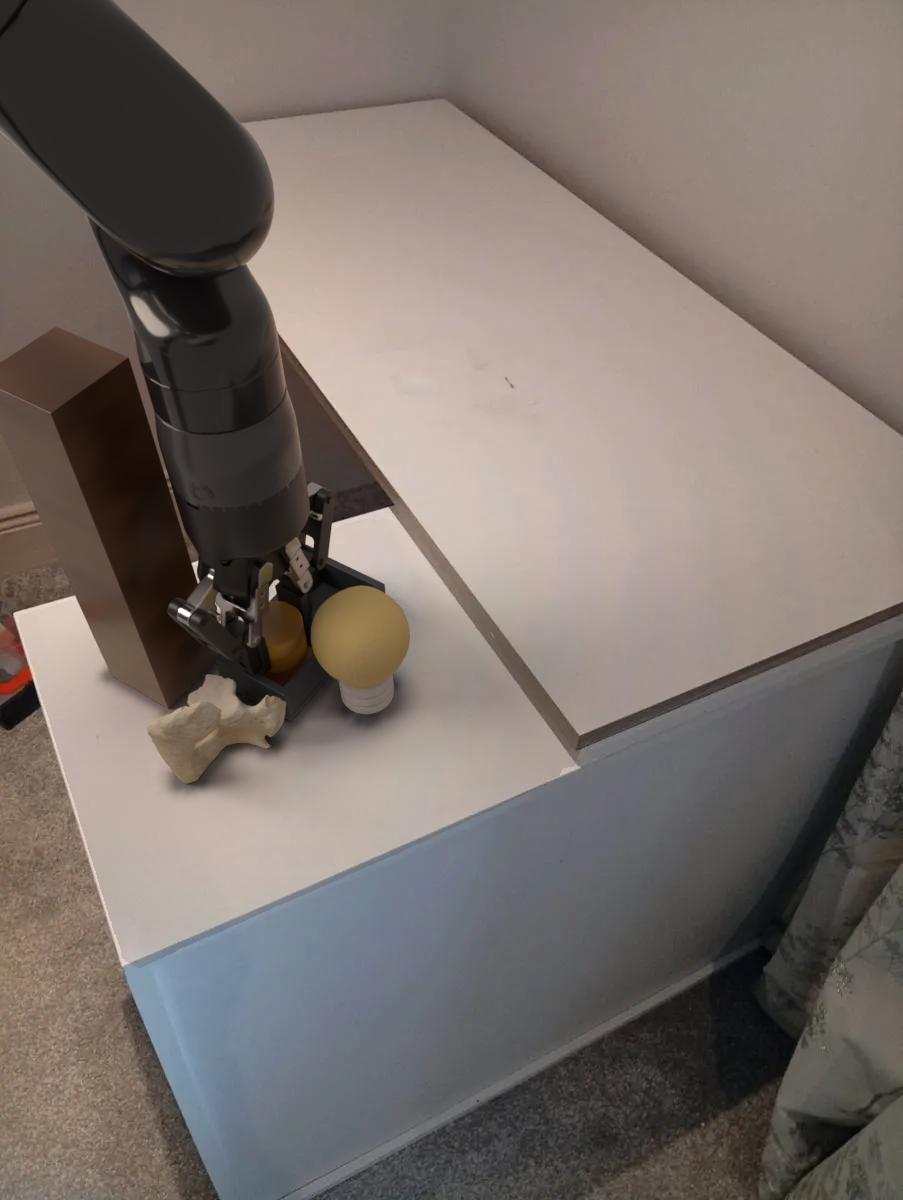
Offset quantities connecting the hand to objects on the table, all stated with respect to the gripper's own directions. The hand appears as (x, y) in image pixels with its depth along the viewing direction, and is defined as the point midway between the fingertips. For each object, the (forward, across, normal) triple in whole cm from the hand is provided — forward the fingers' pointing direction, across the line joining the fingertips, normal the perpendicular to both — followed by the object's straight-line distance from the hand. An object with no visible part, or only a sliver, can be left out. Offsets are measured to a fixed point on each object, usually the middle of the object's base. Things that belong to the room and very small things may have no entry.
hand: (277, 644), depth 68 cm
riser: (+3, +4, -8) cm, 9 cm away
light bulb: (+3, -1, +6) cm, 7 cm away
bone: (+3, +6, 0) cm, 7 cm away
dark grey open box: (+3, -3, 0) cm, 4 cm away
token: (+1, 0, 0) cm, 1 cm away
